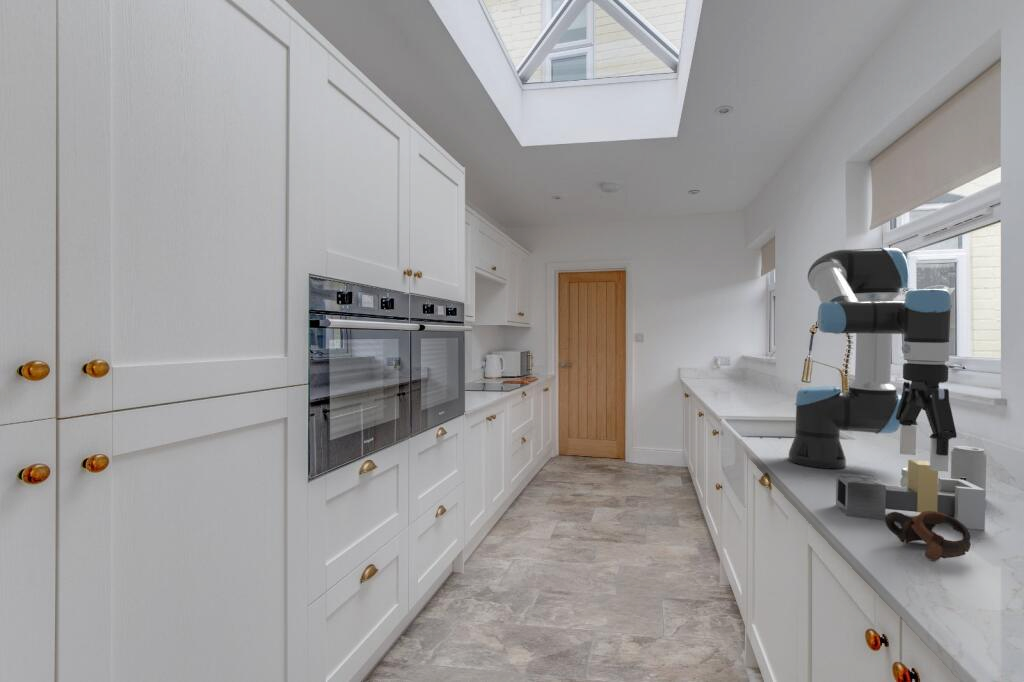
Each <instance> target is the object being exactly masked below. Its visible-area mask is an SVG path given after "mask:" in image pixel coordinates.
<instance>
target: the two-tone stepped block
mask: <svg viewBox="0 0 1024 682" xmlns="http://www.w3.org/2000/svg"><path fill="white" fill-rule="evenodd" d="M907 462H908V463H907V465H908V467H907V468H908V487H902V486H897V485H895V486H892V485H886V508H885V510H891V511H893V510H895V511H902V512H903V511H904V512H915V513H919V514H920V513H922V512H925V511H932V512H933V511H935V512H940V513H943V514H946V515H955V491H943V490H938V478H939V471H932V470H930V461H928V460H917V459H907Z"/></svg>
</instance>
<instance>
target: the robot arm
mask: <svg viewBox="0 0 1024 682" xmlns="http://www.w3.org/2000/svg"><path fill="white" fill-rule="evenodd" d="M807 281H808V283H809V284H808V285H809V286H810V288H812V290H813V291H815V292H816V294H817V295H818V298H819V300H820V304H819V306H818V310H817V326H818V330H819V331H820V332H821V333H824V334H825V333H827V334H836V335H837V334H838V335H839V334H856V335H855V365H854V366H855V367H854V368H855V369H854V381H853V382H851V383H850V384H849V385H848V391H842V388H841V387H840V386H832V385H831V386H813V387H805V388H801V389H799V390H798V391H797V393H796V397H795V399H796V400H795V409H796V410H795V435H794V438H793V441H792V442H791V446H790V448H789V450H788V461H789V460H790V462H791V463H793V462H794V463H793V464H796V463H797V465H801V466H804V467H805V466H806V467H810V466H811V468H817V467H819V469H829V468H838V469H843V467H844V468H846V467H847V457H846V455H845V453H844V452H845V451H844V449H843V446H842V443H841V440H840V435H841V433H840V432H841V431H846V432H858V433H860V432H861V433H872V434H873V433H874V434H876V435H877V434H893V433H895V432H897V431H898V430H899V428H900V439H899V441H900V442H899V454H900V455H908V456H909V455H910V456H916V451H917V447H916V446H917V444H916V443H917V426H918V422H917V419H918V417H919V415H920V412H921V411H925V415H926V418H927V421H928V423H929V426H930V429H931V431H932V432H931V435H930V436H929V438H930V451H929V452H930V455H929V457H930V458H929V459H930V460H929V462H930V470H932V471H938V472H948V471H949V452H950V451H949V450H950V440H952V439H956V438H957V436H958V435H957V430H956V426H955V421H954V416H953V412H952V407H951V403H950V393H949V392H950V391H949V389H948V388H940V383H947V382H948V380H949V367H950V366H948V364H946V363H947V362H949V361H950V348H951V347H950V345H951V344H950V330H951V328H950V327H951V310H952V306H953V305H952V302H951V293H950V291H948V290H947V289H943V288H939V289H938V288H933V289H932V288H930V289H929V288H927V289H913V290H908V291H907V292H906V293H905V296H904V297H905V298H904V301H903V300H901V301H898V300H897V301H894V300H895V299H896V298H897V297H898V296H899V295H900V289H901V290H902V289H903V288H906V286H908V283H909V266H908V260H907V257H906V256H905V254H904V252H903V251H902V250H901V249H899V248H896V247H877V248H873V247H872V248H858V249H837V250H834V251H831V252H828V253H826V254H824V255H822V256H821V257H818V259H816V260H814V262H813V263H812V264H811V265H810V267H809V269H808V271H807ZM893 334H894V335H895V334H896V335H903V346H901V351H903V360H904V361H906V362H904V364H902V379H903V380H904V382H903V385H902V393H901V394H900V393H897V387H896V386H895V385H893V384H892V382H891V372H892V371H891V370H892V341H893V340H892V338H893V337H892V335H893ZM845 466H846V467H845Z"/></svg>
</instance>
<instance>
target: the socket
mask: <svg viewBox="0 0 1024 682" xmlns="http://www.w3.org/2000/svg"><path fill="white" fill-rule="evenodd" d="M938 490H943V491H955V515H949V516H951V517H953V518H955V519H956V520H958V521H959V522H961V523H962V524H963V525H964V526H965V527H966V528H967V529H968V530H969V529H971V530H978V531H979V530H981V531H982V530H983V531H985V529H986V527H985V526H986V497H985V495H986V493H987V491H986V490H987V489H986V490H984V489H982V488H980V487H978V486H976V485H973V484H971V483H969V482H967V481H965V480H960V479H951V478H945V477H944V478H943V477H938ZM986 496H987V495H986Z"/></svg>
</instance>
